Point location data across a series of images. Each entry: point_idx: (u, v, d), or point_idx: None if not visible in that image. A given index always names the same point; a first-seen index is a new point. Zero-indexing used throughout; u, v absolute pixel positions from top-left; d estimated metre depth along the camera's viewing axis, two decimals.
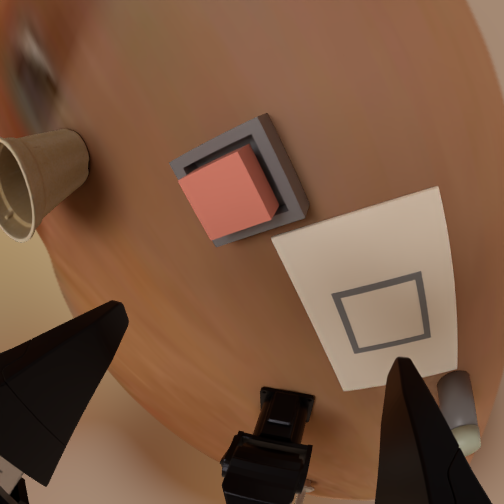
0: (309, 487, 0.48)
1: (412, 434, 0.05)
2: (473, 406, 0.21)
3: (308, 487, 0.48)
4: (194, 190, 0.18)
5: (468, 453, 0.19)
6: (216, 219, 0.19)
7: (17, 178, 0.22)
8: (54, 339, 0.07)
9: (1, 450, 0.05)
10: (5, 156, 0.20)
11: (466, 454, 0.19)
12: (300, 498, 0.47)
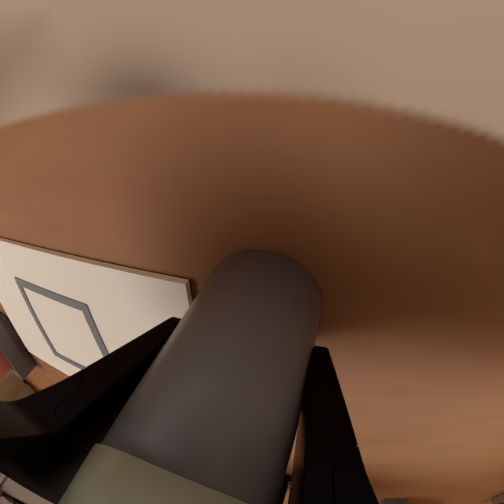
0: None
1: None
2: (165, 360, 0.06)
3: None
4: None
5: None
6: None
7: None
8: (115, 367, 0.07)
9: (57, 499, 0.04)
10: None
11: None
12: None
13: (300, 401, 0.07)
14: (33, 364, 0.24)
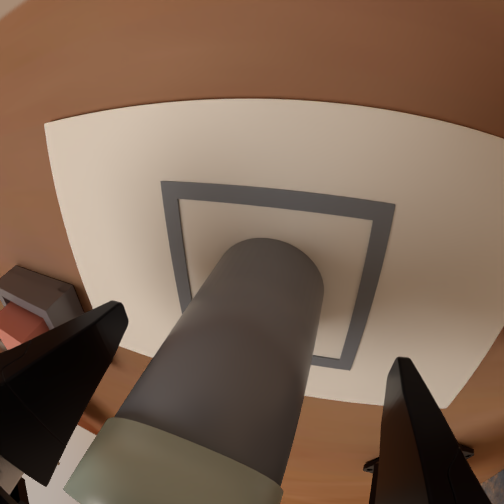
0: None
1: (412, 434, 0.05)
2: (176, 338, 0.07)
3: None
4: None
5: None
6: None
7: None
8: (54, 339, 0.07)
9: (1, 450, 0.05)
10: None
11: None
12: None
13: (305, 378, 0.07)
14: None
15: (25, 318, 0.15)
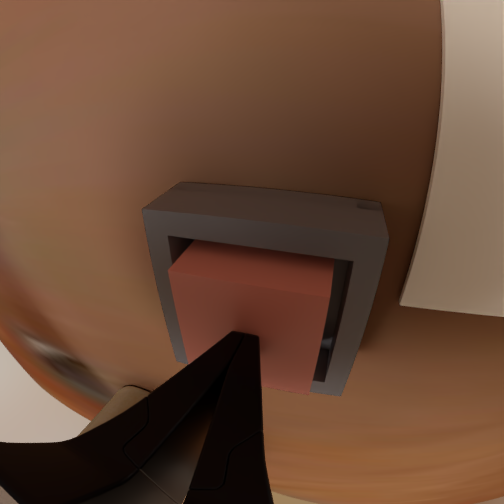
0: None
1: None
2: None
3: None
4: None
5: None
6: (277, 370, 0.09)
7: None
8: (184, 393, 0.06)
9: None
10: None
11: None
12: None
13: None
14: None
15: (283, 254, 0.09)
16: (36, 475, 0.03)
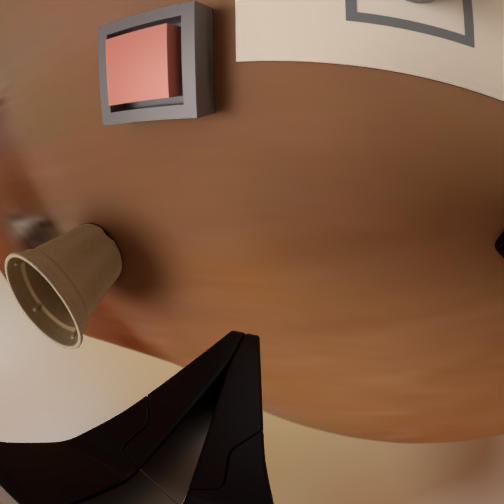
0: None
1: None
2: None
3: None
4: (120, 92, 0.15)
5: None
6: (150, 81, 0.14)
7: None
8: (184, 393, 0.06)
9: None
10: (42, 291, 0.24)
11: None
12: None
13: None
14: (213, 107, 0.17)
15: None
16: (36, 475, 0.03)
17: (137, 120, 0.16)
